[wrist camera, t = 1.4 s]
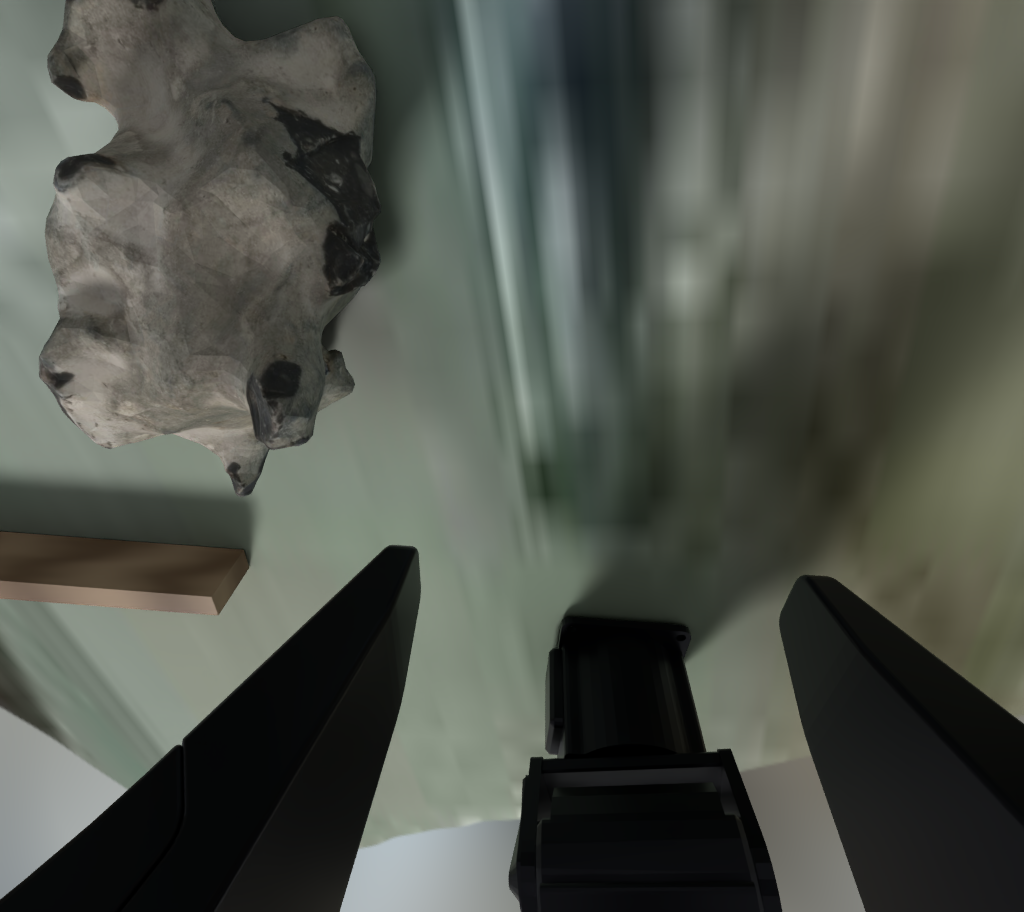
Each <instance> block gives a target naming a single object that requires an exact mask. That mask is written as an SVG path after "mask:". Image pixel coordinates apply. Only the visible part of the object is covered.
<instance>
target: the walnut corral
mask: <svg viewBox="0 0 1024 912" xmlns="http://www.w3.org/2000/svg"><path fill="white" fill-rule="evenodd" d="M248 569H249V565H248V562H247V559H246V555H245V552H244V550H240V549H227V548H214V547H201V546H187V545H174V544H161V543H147V542H134V541H121V540H107V539H94V538H81V537H68V536H54V535H41V534H28V533H14V532H1V531H0V598H1V599H13V600H26V601H39V602H52V603H65V604H78V605H91V606H104V607H116V608H129V609H142V610H155V611H168V612H181V613H194V614H206V615H219V614H220V612H221V610H222V609H223V607H224V606H225V604H226V603H227V601H228V600H229V598H230V597H231V595H232V593H233V592H234V590H235V589H236V587H237V586H238V584H239V583H240V581H241V580H242V578H243V576H244V575H245V573H246V572H247V570H248Z"/></svg>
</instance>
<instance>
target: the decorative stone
mask: <svg viewBox="0 0 1024 912" xmlns="http://www.w3.org/2000/svg"><path fill="white" fill-rule="evenodd" d="M47 67H48V71H49V75H50V78H51V82H52V83H53V84H54V85H56V86H57V87H58V88H60V89H61V90H62V91H64V92H65V93H66V94H68V95H70V96H71V97H73V98H74V99H77V100H81V101H86V102H95V103H97V104H99V105H101V106H103V107H105V108H106V109H107V110H108V111H109V112H110V113H111V114H112V115H113V116H114V117H115V118H116V120H117V123H118V128H119V130H118V131H117V133H116V134H115V136H114V137H113V139H112V140H111V142H110V143H109V144H107V145H106V146H104V147H103V148H102V149H100V150H99V151H97V152H96V153H94V154H85V155H79V156H72V157H68V158H66V159H64V160H62V161H61V162H60V163H59V165H58V166H57V167H56V170H55V175H54V181H53V184H54V188H55V191H56V195H55V199H54V202H53V205H52V207H51V209H50V212H49V214H48V216H47V220H46V229H45V239H46V246H47V253H48V259H49V262H50V265H51V268H52V271H53V274H54V277H55V280H56V284H57V287H58V292H59V300H58V311H59V315H60V320H59V321H58V323H57V325H56V327H55V329H54V331H53V333H52V335H51V336H50V338H49V340H48V341H47V342H46V344H45V345H44V348H43V350H42V352H41V354H40V356H39V377H40V379H41V380H42V381H43V382H44V383H45V384H46V385H47V386H48V388H49V389H50V390H51V392H52V393H53V394H54V396H55V398H56V400H57V402H58V404H59V406H60V407H61V409H62V411H63V412H64V413H65V414H66V416H67V417H68V418H69V419H70V420H71V421H72V422H73V423H74V424H75V425H77V426H78V427H79V428H80V429H81V430H82V431H83V432H84V433H85V434H87V435H88V436H89V437H90V438H91V439H92V440H93V441H94V442H95V443H97V444H99V445H101V446H103V447H105V448H108V449H111V448H115V447H118V446H122V445H125V444H129V443H135V442H139V441H143V440H147V439H150V438H153V437H157V436H160V435H163V434H164V435H167V434H175V435H178V436H180V437H183V438H186V439H188V440H191V441H194V442H196V443H199V444H202V445H204V446H205V447H206V448H208V449H209V450H211V451H212V452H214V453H215V454H216V455H218V456H219V457H220V458H221V460H222V462H223V464H224V467H225V471H226V472H227V473H228V474H229V475H230V477H231V480H232V483H233V486H234V490H235V493H236V494H237V495H238V496H241V497H244V496H247V495H249V494H251V493H252V491H253V489H254V487H255V484H256V482H257V480H258V478H259V476H260V475H261V472H262V469H263V466H264V462H265V459H266V456H267V454H268V451H269V449H271V450H275V449H280V448H286V447H291V446H300V445H302V444H304V443H306V442H307V441H308V440H309V439H310V438H311V437H312V435H313V430H314V424H315V418H316V414H317V412H319V411H320V410H322V409H324V408H325V407H327V406H328V405H330V404H332V403H334V402H335V401H337V400H339V399H341V398H343V397H345V396H347V395H348V394H350V393H351V392H352V391H353V388H354V386H355V383H354V380H353V378H352V376H351V375H350V373H349V372H348V370H347V369H346V367H345V362H344V358H343V355H342V352H340V351H337V350H331V351H328V350H326V349H325V348H324V347H323V345H322V344H321V338H322V331H323V329H324V327H325V326H326V325H327V324H328V323H329V322H330V321H331V320H332V319H333V318H334V317H335V316H336V315H337V314H338V313H339V312H340V311H341V310H342V309H343V308H344V307H345V306H346V305H347V304H348V303H349V302H350V301H351V300H352V299H353V297H354V295H355V294H357V292H358V291H359V289H360V287H361V286H365V285H366V284H367V283H368V282H369V281H370V279H371V278H372V277H373V276H374V275H375V273H376V271H377V269H378V267H379V264H380V262H381V259H380V254H379V251H378V247H377V242H376V238H375V234H374V230H373V221H374V219H375V218H376V216H377V215H378V214H379V213H381V204H380V202H379V199H378V196H377V191H376V186H375V184H374V182H373V180H372V178H371V176H370V174H369V172H368V169H367V168H368V166H369V165H370V163H371V161H372V155H373V135H374V121H375V107H376V95H377V91H376V83H375V76H374V74H373V71H372V69H371V68H370V66H369V65H368V64H367V62H366V61H365V60H364V58H363V57H362V55H361V54H360V53H359V51H358V49H357V47H356V44H355V42H354V39H353V37H352V34H351V32H350V29H349V28H348V26H347V25H346V23H345V22H344V20H343V19H342V18H340V17H338V16H334V17H327V18H320V19H316V20H314V21H311V22H309V23H306V24H304V25H301V26H298V27H295V28H293V29H290V30H287V31H284V32H282V33H279V34H277V35H274V36H272V37H269V38H266V39H264V40H255V41H246V42H245V41H243V40H240V39H238V38H235V37H234V36H233V35H232V34H231V33H230V32H229V31H228V30H227V29H226V28H225V27H224V26H223V25H222V23H221V21H220V20H219V18H218V16H217V14H216V12H215V10H214V7H213V4H212V1H211V0H66V2H65V13H64V23H63V30H62V32H61V34H60V36H59V39H58V41H57V42H56V44H55V45H54V47H53V48H52V50H51V51H50V53H49V54H48V66H47Z"/></svg>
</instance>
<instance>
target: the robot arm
mask: <svg viewBox="0 0 1024 912" xmlns="http://www.w3.org/2000/svg"><path fill="white" fill-rule="evenodd" d="M420 595H421V582H420V568H419V554H418V551H417V549H416V548H415V547H413V546H401V545H389V546H387V547H386V548H385V549H384V550H382V551H381V552H380V553H379V554H378V555H377V556H376V557H375V558H374V559H373V560H372V561H371V562H370V563H369V564H368V565H367V566H366V567H364V568H363V569H362V570H361V571H360V572H359V573H358V574H357V575H356V576H355V577H354V578H353V579H352V580H351V581H350V582H349V583H348V584H346V585H345V586H344V587H343V588H342V589H341V590H340V591H339V592H338V593H337V594H336V595H335V596H334V597H333V598H332V599H331V600H330V601H328V602H327V603H326V604H325V605H324V606H323V607H322V608H321V609H320V610H319V611H318V612H317V613H316V614H315V615H314V616H313V617H312V618H310V619H309V620H308V621H307V622H306V623H305V624H304V625H303V626H302V627H301V628H300V629H299V630H298V631H297V632H296V633H295V634H294V635H292V636H291V637H290V638H289V639H288V640H287V641H286V642H285V643H284V644H283V645H282V646H281V647H280V648H279V649H278V650H277V651H276V652H274V653H273V654H272V655H271V656H270V657H269V658H268V659H267V660H266V661H265V662H264V663H263V664H262V665H261V666H260V667H259V668H258V669H256V670H255V671H254V672H253V673H252V674H251V675H250V676H249V677H248V678H247V679H246V680H245V681H244V682H243V683H242V684H241V685H240V686H238V687H237V688H236V689H235V690H234V691H233V692H232V693H231V694H230V695H229V696H228V697H227V698H226V699H225V700H224V701H223V702H222V703H220V704H219V705H218V706H217V707H216V708H215V709H214V710H213V711H212V712H211V713H210V714H209V715H208V716H207V717H206V718H205V719H204V720H202V721H201V722H200V723H199V724H198V725H197V726H196V727H195V728H194V729H193V730H192V731H191V732H190V733H189V734H188V735H187V736H186V737H184V739H183V741H182V746H181V745H176V746H175V747H173V748H172V749H171V750H170V751H169V752H168V753H167V754H166V755H165V756H164V757H163V758H162V759H161V760H160V761H159V762H158V763H157V764H155V765H154V766H153V767H152V768H151V769H150V770H149V771H148V772H147V773H146V774H145V775H144V776H143V777H142V778H140V779H139V780H138V781H137V782H136V783H135V784H134V785H133V786H132V787H131V788H129V789H128V790H127V791H126V792H125V793H124V794H123V795H122V796H121V797H120V798H119V799H117V800H116V801H115V802H114V803H113V804H112V805H111V806H110V807H109V808H108V809H106V810H105V811H104V812H103V813H102V814H101V815H100V816H99V817H98V818H97V819H95V820H94V821H93V822H92V823H91V824H90V825H89V826H87V827H86V828H85V829H84V830H83V831H81V832H80V833H79V834H78V835H77V836H76V837H74V838H73V839H72V840H71V841H70V842H69V843H67V844H66V845H65V846H64V847H63V848H61V849H60V850H59V851H58V852H57V853H56V854H54V855H53V856H52V857H51V858H50V859H48V860H47V861H46V862H45V863H44V864H43V865H41V866H40V867H39V868H38V869H37V870H35V871H34V872H33V873H32V874H31V875H30V876H28V877H27V878H26V879H25V880H24V881H22V882H21V883H20V884H19V885H17V886H16V887H15V888H14V889H13V890H11V891H10V892H9V893H8V894H6V895H5V896H4V897H3V898H2V899H0V912H340V908H341V905H342V902H343V898H344V895H345V892H346V888H347V885H348V881H349V878H350V874H351V872H352V868H353V865H354V861H355V858H356V855H357V851H358V848H359V845H360V841H361V838H362V835H363V831H364V828H365V825H366V821H367V818H368V815H369V811H370V808H371V805H372V801H373V798H374V795H375V791H376V788H377V785H378V781H379V778H380V775H381V771H382V768H383V765H384V761H385V758H386V754H387V751H388V748H389V744H390V741H391V738H392V734H393V731H394V728H395V724H396V721H397V717H398V714H399V710H400V706H401V702H402V697H403V692H404V687H405V682H406V677H407V671H408V665H409V660H410V654H411V648H412V643H413V637H414V631H415V626H416V620H417V615H418V609H419V603H420ZM570 626H572V627H570ZM779 627H780V633H781V637H782V641H783V646H784V650H785V654H786V658H787V663H788V667H789V671H790V676H791V680H792V684H793V688H794V693H795V697H796V701H797V706H798V710H799V714H800V718H801V722H802V726H803V730H804V733H805V737H806V740H807V743H808V746H809V749H810V752H811V755H812V758H813V761H814V764H815V767H816V770H817V772H818V776H819V778H820V781H821V784H822V787H823V790H824V793H825V796H826V798H827V801H828V804H829V807H830V810H831V813H832V816H833V819H834V822H835V825H836V827H837V830H838V833H839V836H840V839H841V842H842V844H843V847H844V850H845V853H846V856H847V859H848V862H849V865H850V868H851V871H852V873H853V876H854V879H855V882H856V885H857V888H858V891H859V894H860V897H861V899H862V902H863V905H864V908H865V911H866V912H1024V724H1023V723H1022V722H1021V721H1019V720H1018V719H1017V718H1016V717H1014V716H1013V715H1012V714H1010V713H1009V712H1008V711H1006V710H1005V709H1004V708H1003V707H1001V706H1000V705H999V704H997V703H996V702H995V701H993V700H992V699H991V698H990V697H988V696H987V695H986V694H984V693H983V692H982V691H980V690H979V689H978V688H976V687H975V686H974V685H973V684H971V683H970V682H969V681H967V680H966V679H965V678H963V677H962V676H961V675H960V674H958V673H957V672H956V671H954V670H953V669H952V668H950V667H949V666H948V665H947V664H945V663H944V662H943V661H941V660H940V659H939V658H937V657H936V656H935V655H934V654H932V653H931V652H930V651H928V650H927V649H926V648H924V647H923V646H922V645H921V644H919V643H918V642H917V641H915V640H914V639H913V638H911V637H910V636H909V635H908V634H906V633H905V632H904V631H902V630H901V629H900V628H898V627H897V626H896V625H894V624H893V623H892V622H891V621H889V620H888V619H887V618H885V617H884V616H883V615H881V614H880V613H879V612H878V611H876V610H875V609H874V608H872V607H871V606H870V605H868V604H867V603H866V602H865V601H863V600H862V599H861V598H859V597H858V596H857V595H855V594H854V593H853V592H852V591H850V590H849V589H848V588H846V587H845V586H844V585H842V584H841V583H840V582H838V581H837V580H836V579H834V578H832V577H828V576H815V575H802V576H800V577H799V578H798V579H797V580H796V582H795V584H794V586H793V588H792V590H791V592H790V594H789V596H788V598H787V601H786V603H785V605H784V607H783V609H782V611H781V614H780V619H779ZM690 640H691V634H690V631H689V629H688V627H686V626H684V625H674V624H661V623H648V622H635V621H622V620H609V619H596V618H583V617H566V618H564V619H563V620H562V622H561V627H560V634H559V641H558V648H553V649H552V650H551V651H550V652H549V658H548V665H547V672H546V696H545V749H546V751H547V752H548V753H549V754H553V755H557V758H555V759H543V757H531V759H530V768H529V775H526V777H525V778H524V779H523V787H522V811H521V820H520V826H519V831H518V835H517V839H516V844H515V848H514V853H513V857H512V861H511V866H510V871H509V888H510V890H511V891H512V893H513V894H514V895H515V897H516V898H517V899H518V901H519V902H520V909H521V912H782V908H781V903H780V897H779V892H778V888H777V883H776V879H775V875H774V871H773V867H772V863H771V860H770V856H769V853H768V850H767V846H766V843H765V841H764V838H763V835H762V832H761V829H760V827H759V824H758V821H757V819H756V816H755V813H754V810H753V808H752V805H751V802H750V800H749V797H748V794H747V792H746V789H745V786H744V783H743V781H742V778H741V775H740V773H739V770H738V767H737V765H736V762H735V759H734V756H733V754H732V751H731V749H717V752H706V748H705V744H704V740H703V736H702V732H701V728H700V724H699V720H698V716H697V712H696V708H695V704H694V700H693V695H692V691H691V687H690V683H689V679H688V675H687V671H686V667H685V663H684V657H685V654H686V651H687V648H688V646H689V643H690Z"/></svg>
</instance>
